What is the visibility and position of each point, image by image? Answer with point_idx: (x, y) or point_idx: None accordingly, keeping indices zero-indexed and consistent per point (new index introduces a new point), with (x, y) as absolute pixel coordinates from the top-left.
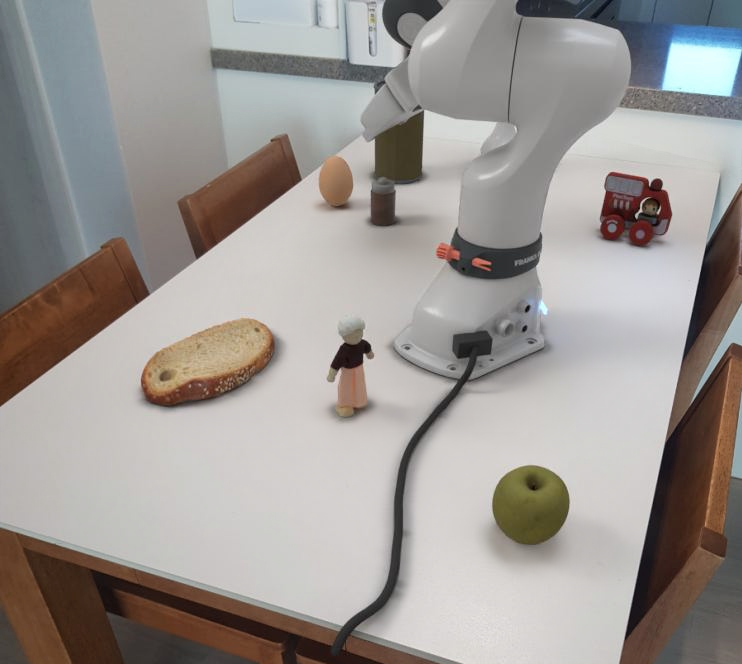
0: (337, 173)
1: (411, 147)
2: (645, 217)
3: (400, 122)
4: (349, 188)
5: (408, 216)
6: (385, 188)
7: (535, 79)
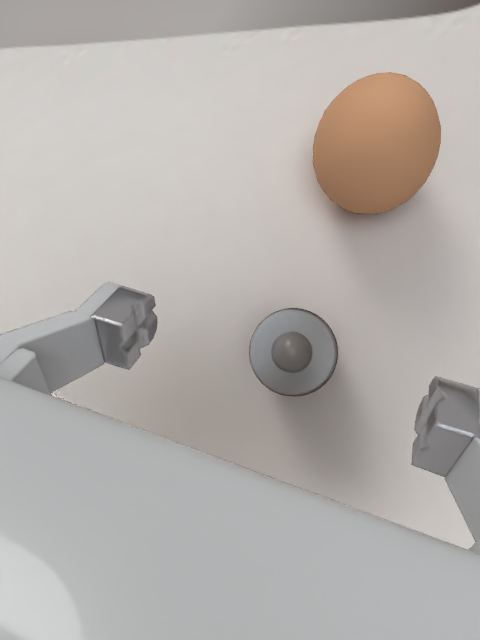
0: (332, 155)
1: None
2: None
3: (416, 423)
4: (355, 208)
5: (358, 413)
6: (256, 373)
7: None
